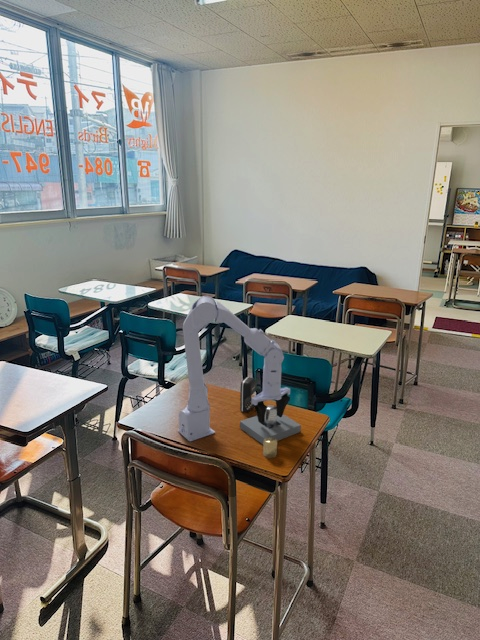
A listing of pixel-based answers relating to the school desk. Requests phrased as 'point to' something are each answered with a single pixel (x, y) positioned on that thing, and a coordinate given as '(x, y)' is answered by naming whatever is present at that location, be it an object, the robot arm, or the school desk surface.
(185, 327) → the robot arm
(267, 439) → the short pin
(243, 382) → the battery charger
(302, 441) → the school desk surface
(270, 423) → the long pin
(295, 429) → the hole board
